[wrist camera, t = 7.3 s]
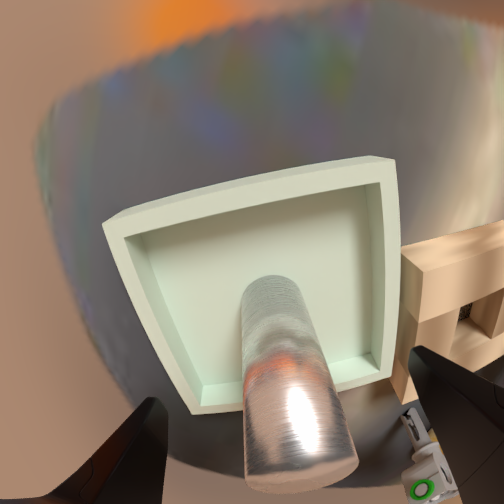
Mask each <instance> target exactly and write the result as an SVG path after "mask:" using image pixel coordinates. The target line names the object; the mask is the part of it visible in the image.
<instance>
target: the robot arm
mask: <svg viewBox="0 0 504 504" xmlns="http://www.w3.org/2000/svg"><path fill="white" fill-rule="evenodd" d="M408 370H409V373H410V376H411V379H412V381H413V384H414V387H415V390H416V392H417V395H418V398H419V401H420V403H421V406H422V408H423V410H424V412H425V414H426V416H427V418H428V420H429V423H430V425H431V427H432V429H433V431H434V433H435V436H436V438H437V440H438V442H439V445H440V447H441V449H442V451H443V454H444V456H445V458H446V461H447V463H448V466H449V468H450V471H451V473H452V476H453V478H454V481H455V483H456V486H457V488H458V492H459V494H460V497H461V500H462V503H463V504H504V388H502V387H500V386H498V385H496V384H493V383H492V382H490V381H488V380H487V379H485V378H483V377H481V376H479V375H477V374H475V373H473V372H472V371H470V370H468V369H466V368H464V367H462V366H460V365H458V364H457V363H455V362H453V361H451V360H449V359H447V358H445V357H443V356H442V355H440V354H438V353H436V352H434V351H432V350H430V349H428V348H427V347H425V346H423V345H418V346H415V347H413V348H411V350H410V353H409V359H408ZM167 451H168V411H167V409H166V408H165V406H164V405H163V403H162V402H161V400H160V399H159V398H158V397H147V398H146V399H145V400H144V401H143V402H142V403H141V404H140V405H139V406H138V407H137V408H136V410H135V411H134V412H133V413H132V414H131V415H130V416H129V417H128V418H127V419H126V420H125V421H124V422H123V424H121V426H120V427H119V428H118V429H117V430H116V431H115V432H114V433H113V434H112V435H111V436H110V437H109V438H108V439H107V440H106V441H105V442H104V444H102V446H101V447H100V448H99V449H98V450H97V451H96V452H95V453H94V454H93V455H92V456H91V457H90V458H89V459H88V460H87V461H86V462H85V463H84V464H83V465H82V466H81V467H80V468H79V469H78V470H77V471H76V472H75V473H73V474H72V475H71V476H70V477H69V478H68V479H66V480H65V481H64V482H63V483H61V484H60V485H59V486H58V487H57V488H56V489H54V490H53V491H52V492H50V493H48V494H46V495H44V496H41V497H35V498H23V499H0V504H162V494H163V485H164V476H165V467H166V459H167Z"/></svg>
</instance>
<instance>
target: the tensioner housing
mask: <svg viewBox="0 0 504 504" xmlns="http://www.w3.org/2000/svg"><path fill="white" fill-rule="evenodd" d="M471 302H472V307H471V312H470V316H469V317H468V318H466V319H463V320H461V321H459V322H457V321H458V316H459V311H460V307H462V306H464V305H467V304H469V303H471ZM418 345H423V346H425V347H427V348H428V349H430V350H432V351H434V352H436V353H438V354H440V355H442V356H443V357H445V358H447V359H449V360H451V361H453V362H455V363H457V364H458V365H460V366H462V367H464V368H466V369H468V370H470V371H472V372H475V371H477V370H479V369H480V368H482V367H484V366H486V365H487V364H489V363H491V362H492V361H494V360H496V359H497V358H499V357H501V356H502V355H504V220H501V221H497V222H494V223H490V224H487V225H483V226H479V227H476V228H472V229H468V230H465V231H461V232H457V233H453V234H449V235H446V236H442V237H438V238H434V239H430V240H426V241H422V242H418V243H414V244H410V245H406V246H402V247H401V268H400V297H399V313H398V325H397V335H396V344H395V353H394V360H393V367H392V374H391V376H390V377H388V378H389V380H390V382H391V384H392V386H393V388H394V390H395V392H396V394H397V396H398V398H399V400H400V402H401V404H402V405H403V404H406V403H408V402H411V401H413V400H416V399H418V395H417V392H416V390H415V387H414V384H413V381H412V379H411V376H410V373H409V370H408V359H409V353H410V350H411V348H413V347H415V346H418Z"/></svg>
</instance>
